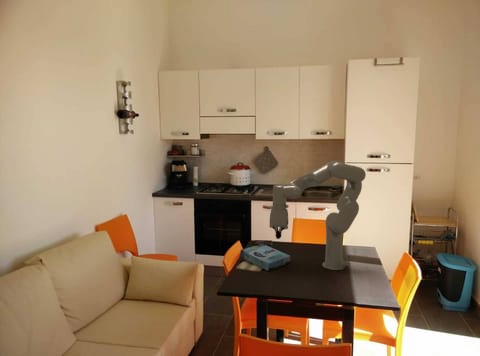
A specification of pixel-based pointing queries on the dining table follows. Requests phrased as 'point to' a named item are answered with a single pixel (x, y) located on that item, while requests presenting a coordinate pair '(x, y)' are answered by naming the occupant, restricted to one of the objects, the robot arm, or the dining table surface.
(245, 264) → the board
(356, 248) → the dining table surface
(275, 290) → the dining table surface
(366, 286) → the dining table surface
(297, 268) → the dining table surface
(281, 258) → the gum box
